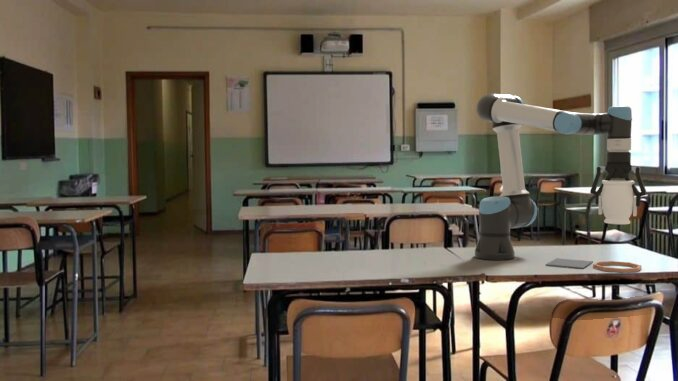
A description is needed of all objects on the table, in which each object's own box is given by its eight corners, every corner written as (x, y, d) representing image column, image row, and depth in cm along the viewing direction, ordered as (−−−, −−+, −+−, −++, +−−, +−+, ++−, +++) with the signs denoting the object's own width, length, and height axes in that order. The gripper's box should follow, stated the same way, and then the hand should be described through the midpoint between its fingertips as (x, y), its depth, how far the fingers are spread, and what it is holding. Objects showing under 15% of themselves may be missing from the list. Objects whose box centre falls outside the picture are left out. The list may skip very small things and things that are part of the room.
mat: (545, 265, 222) (545, 264, 222) (556, 259, 235) (556, 258, 235) (583, 269, 215) (583, 267, 215) (592, 262, 227) (592, 261, 227)
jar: (594, 222, 219) (595, 179, 218) (618, 221, 222) (619, 179, 221) (615, 225, 209) (617, 181, 208) (640, 224, 212) (641, 180, 211)
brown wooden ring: (590, 269, 214) (590, 266, 214) (599, 263, 226) (599, 260, 226) (636, 273, 206) (636, 270, 206) (643, 266, 218) (643, 263, 218)
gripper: (581, 151, 217) (580, 214, 218) (654, 151, 204) (652, 217, 206) (586, 151, 223) (585, 212, 225) (657, 151, 210) (655, 215, 212)
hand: (617, 215), depth 215 cm, fingers closed on jar, 10 cm apart
